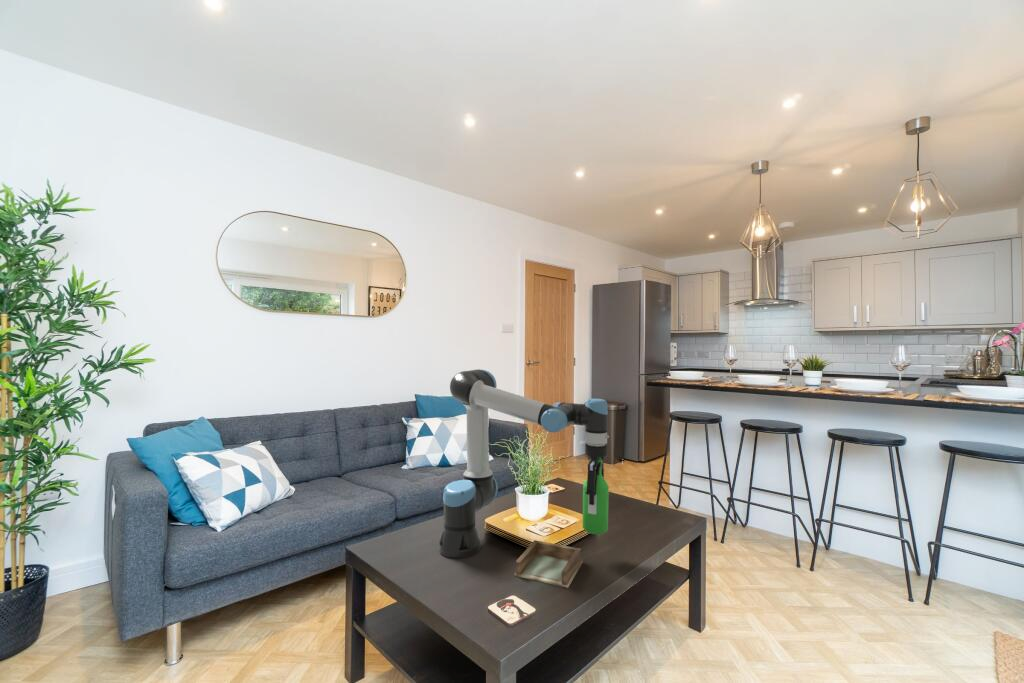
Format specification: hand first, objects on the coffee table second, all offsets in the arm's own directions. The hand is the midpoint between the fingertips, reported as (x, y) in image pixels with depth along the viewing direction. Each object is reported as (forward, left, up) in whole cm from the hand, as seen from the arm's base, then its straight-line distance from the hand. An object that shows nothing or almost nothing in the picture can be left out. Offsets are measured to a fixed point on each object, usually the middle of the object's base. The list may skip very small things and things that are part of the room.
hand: (595, 508), depth 153 cm
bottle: (0, 0, -8) cm, 8 cm away
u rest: (-13, -13, -17) cm, 25 cm away
